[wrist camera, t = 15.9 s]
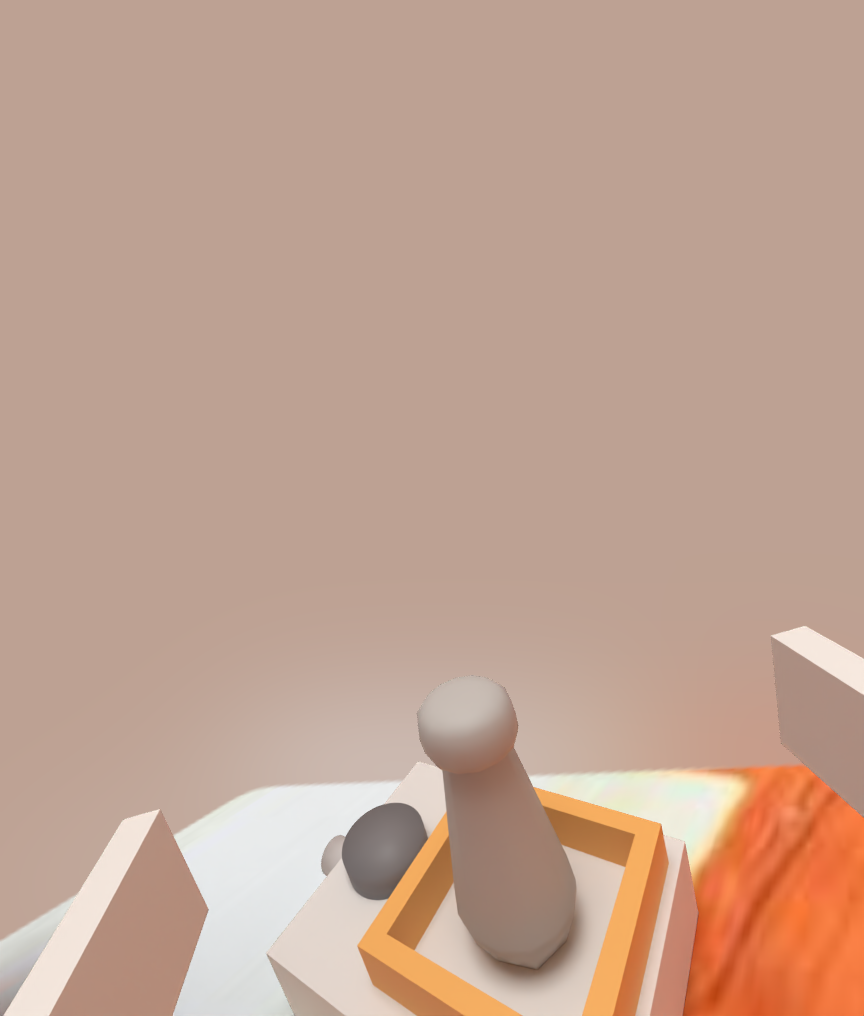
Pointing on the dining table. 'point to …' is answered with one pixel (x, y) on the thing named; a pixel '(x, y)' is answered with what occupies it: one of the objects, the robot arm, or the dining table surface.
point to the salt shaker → (497, 826)
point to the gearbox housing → (450, 947)
